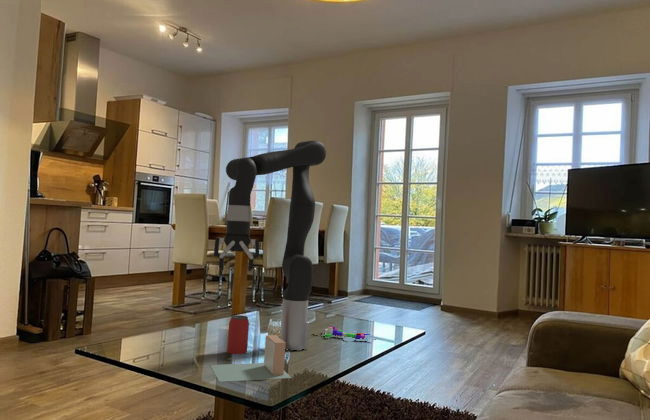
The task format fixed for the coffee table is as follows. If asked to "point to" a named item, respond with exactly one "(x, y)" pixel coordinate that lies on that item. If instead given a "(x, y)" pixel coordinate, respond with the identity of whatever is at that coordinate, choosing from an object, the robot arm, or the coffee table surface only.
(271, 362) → the tile
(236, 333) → the beer can
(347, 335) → the building block set
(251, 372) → the felt mat
